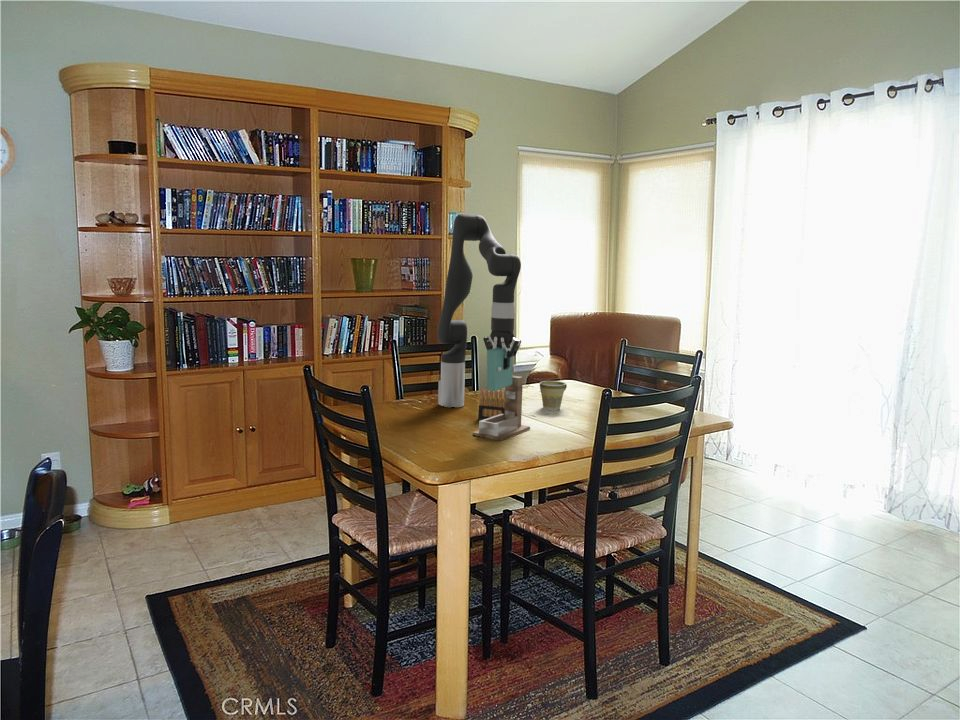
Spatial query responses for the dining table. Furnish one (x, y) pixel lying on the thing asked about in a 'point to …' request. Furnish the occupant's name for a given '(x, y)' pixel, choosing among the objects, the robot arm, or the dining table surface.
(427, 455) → the dining table surface
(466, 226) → the robot arm
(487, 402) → the ammunition clip
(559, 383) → the ceramic cup
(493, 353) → the teal door
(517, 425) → the hinge frame
